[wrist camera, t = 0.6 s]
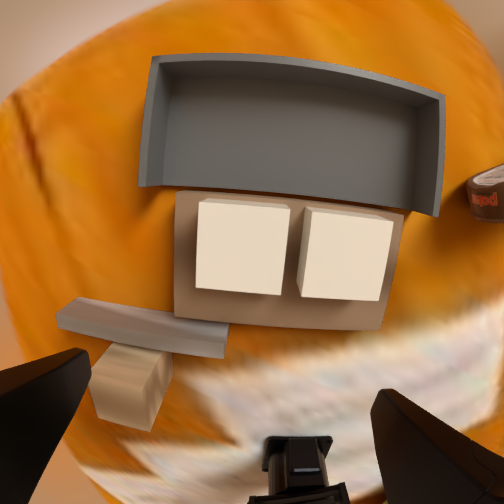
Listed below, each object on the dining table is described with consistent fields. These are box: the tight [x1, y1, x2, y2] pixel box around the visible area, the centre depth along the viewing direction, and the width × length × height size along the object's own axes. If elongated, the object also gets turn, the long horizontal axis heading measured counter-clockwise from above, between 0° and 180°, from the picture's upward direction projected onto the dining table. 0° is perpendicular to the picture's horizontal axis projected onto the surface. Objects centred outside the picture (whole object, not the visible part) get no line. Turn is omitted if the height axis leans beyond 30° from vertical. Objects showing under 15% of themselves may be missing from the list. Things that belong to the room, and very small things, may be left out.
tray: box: [138, 53, 446, 217], centre depth 16 cm, size 8×18×4 cm, turn 85°
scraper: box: [56, 297, 230, 432], centre depth 19 cm, size 6×13×7 cm, turn 85°
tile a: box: [296, 207, 393, 301], centre depth 16 cm, size 4×4×2 cm
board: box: [174, 190, 404, 331], centre depth 19 cm, size 8×14×2 cm, turn 85°
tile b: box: [196, 198, 290, 295], centre depth 16 cm, size 4×4×2 cm
